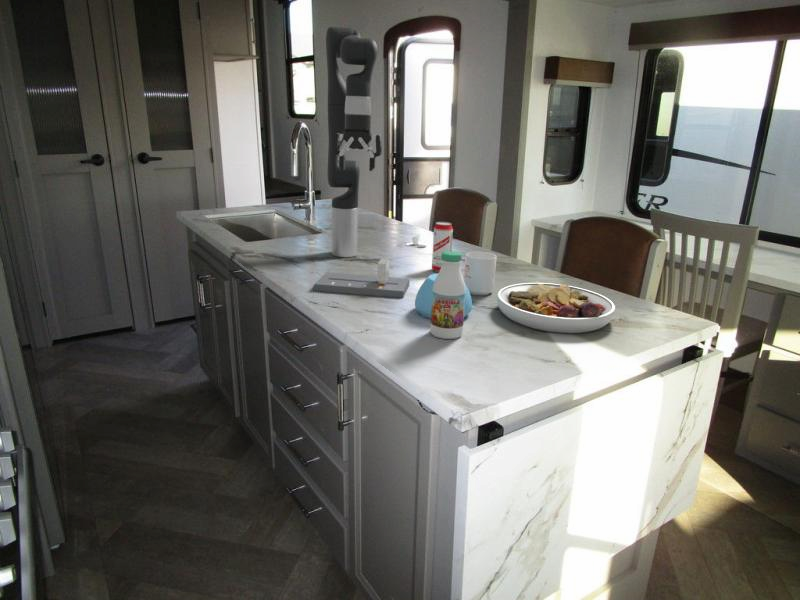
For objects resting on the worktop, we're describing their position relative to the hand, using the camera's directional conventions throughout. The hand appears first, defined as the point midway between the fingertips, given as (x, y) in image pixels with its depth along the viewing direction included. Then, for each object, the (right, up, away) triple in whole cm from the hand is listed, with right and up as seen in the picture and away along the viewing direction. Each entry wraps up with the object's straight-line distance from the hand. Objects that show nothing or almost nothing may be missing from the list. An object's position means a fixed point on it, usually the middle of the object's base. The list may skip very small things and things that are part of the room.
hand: (357, 170), depth 171 cm
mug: (+35, -36, +1) cm, 51 cm away
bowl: (+54, -44, -19) cm, 72 cm away
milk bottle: (+24, -47, -34) cm, 63 cm away
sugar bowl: (+24, -43, -20) cm, 53 cm away
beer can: (+26, -29, +20) cm, 44 cm away
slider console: (+2, -35, -2) cm, 35 cm away
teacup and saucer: (+18, -19, +52) cm, 59 cm away
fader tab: (+8, -34, -3) cm, 35 cm away
